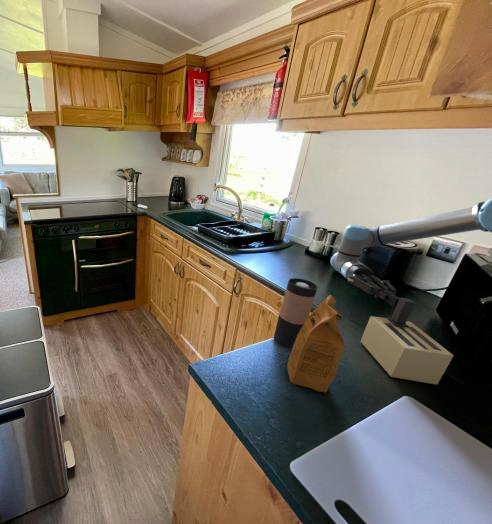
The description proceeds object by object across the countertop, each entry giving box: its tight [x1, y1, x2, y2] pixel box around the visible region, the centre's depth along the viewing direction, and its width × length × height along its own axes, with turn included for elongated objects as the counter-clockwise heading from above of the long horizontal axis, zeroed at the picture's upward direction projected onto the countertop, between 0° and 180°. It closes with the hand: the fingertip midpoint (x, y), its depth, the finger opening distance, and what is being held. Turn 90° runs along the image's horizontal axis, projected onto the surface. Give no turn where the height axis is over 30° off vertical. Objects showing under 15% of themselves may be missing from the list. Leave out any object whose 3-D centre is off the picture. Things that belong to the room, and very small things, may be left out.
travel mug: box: [273, 277, 319, 349], centre depth 86 cm, size 8×8×20 cm
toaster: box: [359, 315, 454, 385], centre depth 82 cm, size 16×11×10 cm
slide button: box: [386, 297, 416, 328], centre depth 83 cm, size 4×4×8 cm
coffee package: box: [286, 294, 346, 393], centre depth 72 cm, size 10×12×22 cm
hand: (397, 303), depth 85 cm, fingers closed
